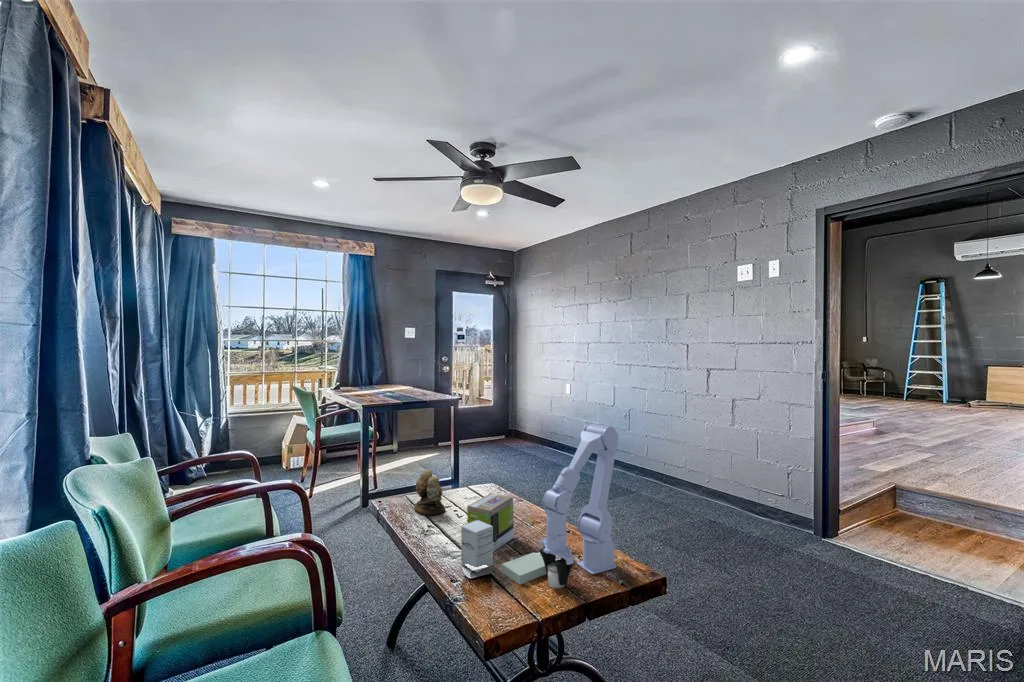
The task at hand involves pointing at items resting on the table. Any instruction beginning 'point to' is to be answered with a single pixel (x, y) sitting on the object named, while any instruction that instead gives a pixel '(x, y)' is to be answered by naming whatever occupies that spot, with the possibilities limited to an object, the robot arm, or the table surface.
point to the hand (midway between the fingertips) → (556, 578)
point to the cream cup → (553, 576)
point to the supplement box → (477, 544)
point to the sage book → (524, 568)
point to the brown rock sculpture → (429, 495)
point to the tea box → (494, 516)
